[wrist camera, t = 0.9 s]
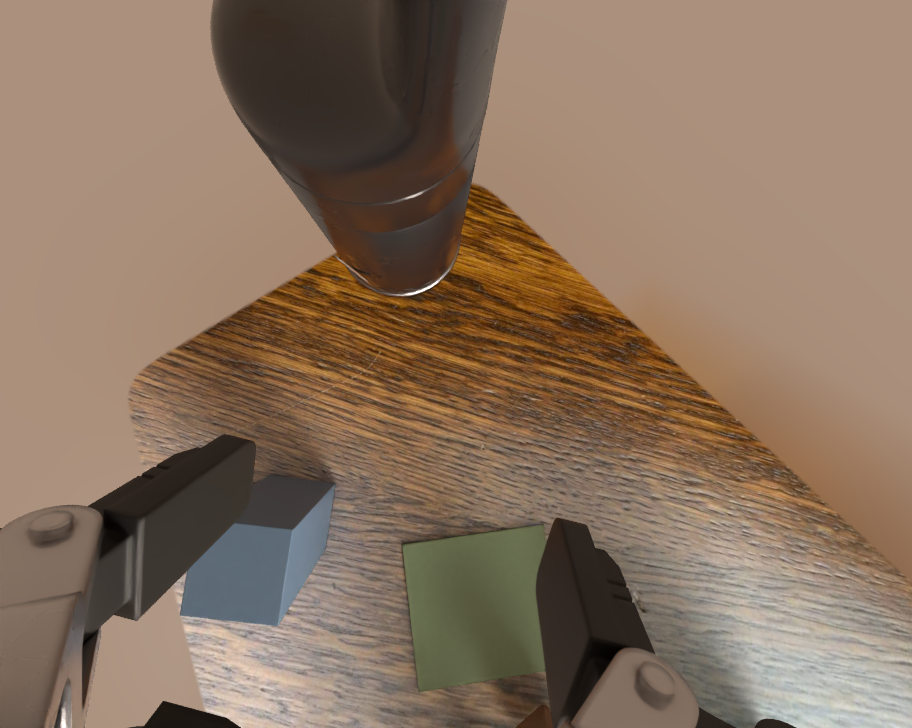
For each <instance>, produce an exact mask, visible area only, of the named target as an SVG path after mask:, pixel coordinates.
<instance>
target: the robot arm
mask: <svg viewBox="0 0 912 728" xmlns="http://www.w3.org/2000/svg"><path fill="white" fill-rule="evenodd" d="M506 4H507V0H213V5H212V12H211V22H210V24H211V25H210V27H211V44H212V51H213V56H214V61H215V65H216V69H217V73H218V75H219V78H220V81H221V84H222V86H223V89H224V91H225V93H226V95H227V97H228V99H229V101H230V103H231V105H232V107H233V108H234V110H235V112H236V114H237V115H238V117H239V118H240V120H241V122H242V123H243V125H244V126H245V127H246V128H247V130H248V132H249V133H250V134H251V136H252V137H253V138H254V140H255V141H256V143H257V144H258V145H259V147H260V148H261V149H262V151H263V152H264V153H265V154H266V156H267V157H268V158H269V160H270V161H271V162H272V164H273V165H274V166H275V168H276V169H277V170H278V172H279V173H280V174H281V176H282V177H283V179H284V180H285V181H286V183H287V184H288V185H289V187H290V188H291V189H292V191H293V192H294V193H295V195H296V196H297V197H298V199H299V200H300V202H301V203H302V204H303V205H304V207H305V208H306V210H307V211H308V213H309V214H310V215H311V217H312V218H313V219H314V221H315V222H316V223H317V225H318V226H319V228H320V229H321V230H322V232H323V233H324V235H325V236H326V237H327V239H328V240H329V241H330V243H331V244H332V245H333V247H334V248H335V250H336V251H337V253H338V254H339V255H340V257H341V258H342V260H343V261H342V260H341V259H339V258H338V257H337V256H336V255H334V254H333V255H334V256H335V257H336V258H337V259H338V260H339V261H341V262H342V263H343V264H345V265H346V267H347V269H348V270H349V271H350V273H351V274H352V275H353V276H354V277H355V278H356V280H358V281H359V282H360V283H361V284H362V285H364V286H365V287H366V288H368V289H370V290H372V291H374V292H376V293H379V294H382V295H385V296H390V297H410V296H415V295H419V294H421V293H424V292H426V291H428V290H430V289H432V288H433V287H435V286H436V285H437V284H439V283H440V282H441V281H442V280H443V279H444V278H445V277H446V276H447V274H448V273H449V272H450V270H451V269H452V267H453V265H454V263H455V261H456V258H457V255H458V251H459V246H460V236H461V231H462V226H463V221H464V217H465V212H466V207H467V202H468V197H469V192H470V187H471V182H472V177H473V172H474V167H475V162H476V157H477V152H478V146H479V140H480V136H481V131H482V125H483V121H484V117H485V114H486V109H487V104H488V97H489V92H490V86H491V80H492V74H493V68H494V63H495V57H496V52H497V47H498V42H499V37H500V33H501V28H502V23H503V19H504V14H505V9H506ZM255 456H256V444H255V442H254V441H251V440H247V439H243V438H239V437H235V436H231V435H227V434H224V435H221V436H220V437H218V438H216V439H215V440H213V441H212V442H210V443H208V444H207V445H205V446H204V447H202V448H198V447H197V448H194V449H190V450H187V451H184V452H181V453H177V454H174V455H173V456H171V457H169V458H168V459H166V460H164V461H163V462H161V463H159V464H158V465H157V466H156V467H153V468H151V469H149V470H148V471H146V472H144V473H143V474H142V476H137V477H136V478H134V479H132V480H131V481H129V482H128V483H126V484H124V485H122V486H121V487H119V488H117V489H116V490H114V491H113V492H111V493H109V494H108V495H106V496H104V497H102V498H101V499H99V500H97V501H96V502H94V503H92V504H91V505H89V506H87V507H86V506H80V505H63V506H54V507H49V508H44V509H40V510H37V511H34V512H31V513H28V514H25V515H23V516H21V517H19V518H17V519H15V520H13V521H12V522H10V523H8V524H7V525H6V526H4V527H3V528H0V728H85V723H86V717H87V712H88V706H89V700H90V694H91V689H92V683H93V678H94V672H95V666H96V661H97V655H98V650H99V644H100V638H101V626H102V625H103V624H104V623H105V622H106V621H107V620H108V619H109V618H110V617H111V616H113V615H116V616H120V617H124V618H128V619H131V620H135V621H137V620H138V619H139V618H140V617H141V616H142V615H143V614H144V613H145V612H146V611H147V610H148V609H149V608H150V607H151V606H152V605H153V604H154V603H155V602H156V601H157V600H158V599H159V598H160V597H161V596H162V595H163V594H164V593H165V592H166V591H167V590H168V589H169V588H170V587H171V586H172V585H173V584H174V583H175V582H176V581H177V580H178V579H179V578H180V577H181V576H182V575H183V574H184V573H185V572H186V571H187V570H188V569H189V568H190V567H191V566H192V565H193V564H194V563H195V562H196V561H197V560H198V559H199V558H200V557H201V556H202V555H203V554H204V553H205V552H206V551H207V550H208V549H209V548H210V547H211V546H212V545H213V544H214V543H215V542H216V541H217V540H218V539H219V538H220V537H221V536H222V535H223V534H224V533H225V532H226V531H227V530H228V529H229V528H230V527H231V526H232V525H233V524H234V523H235V522H236V521H237V520H238V519H239V518H240V517H241V516H242V514H243V513H244V511H245V510H246V508H247V505H248V503H249V500H250V497H251V491H252V482H253V474H254V465H255ZM536 600H537V608H538V616H539V623H540V631H541V639H542V647H543V655H544V662H545V670H546V678H547V686H548V694H549V701H550V709H551V717H552V725H553V728H736V727H734V726H732V725H730V724H728V723H726V722H724V721H723V720H721V719H719V718H717V717H715V716H713V715H712V714H710V713H708V712H706V711H705V710H703V709H701V708H700V707H699V706H698V703H697V700H696V697H695V695H694V693H693V691H692V689H691V688H690V686H689V685H688V683H687V682H686V681H685V679H684V678H683V677H682V676H681V675H680V674H679V673H678V672H677V671H676V670H675V669H674V668H673V667H672V666H671V665H670V664H668V663H667V662H666V661H664V660H663V659H661V658H660V657H658V656H656V654H655V652H654V650H653V647H652V645H651V642H650V640H649V638H648V635H647V633H646V630H645V628H644V625H643V623H642V621H641V618H640V616H639V613H638V611H637V609H636V606H635V604H634V603H632V597H631V594H630V592H629V589H628V588H626V582H625V580H624V577H623V575H622V572H621V570H620V568H619V566H618V565H617V564H616V563H615V562H614V560H613V559H612V558H611V557H610V556H609V555H608V553H607V552H606V551H605V550H602V549H598V548H595V546H594V543H593V540H592V537H591V534H590V532H589V529H588V527H587V525H585V524H581V523H577V522H573V521H569V520H565V519H561V518H556V519H555V520H554V522H553V525H552V528H551V531H550V534H549V537H548V540H547V543H546V546H545V549H544V552H543V556H542V559H541V562H540V565H539V568H538V572H537V578H536ZM130 728H241V727H239V726H238V725H236V724H235V723H233V722H232V721H230V720H229V719H227V718H225V717H221V716H217V715H214V714H210V713H206V712H203V711H199V710H195V709H192V708H188V707H184V706H181V705H177V704H173V703H169V702H166V701H163V702H162V703H161V705H160V706H159V707H158V708H157V710H156V711H155V713H154V714H153V715H152V716H151V718H150V719H149V720H148V722H147V723H146V724H145V726H136V727H130ZM755 728H796V727H794V726H792V725H790V724H788V723H785V722H782V721H779V720H775V719H763V720H761V721H759V722H758V723H757V724H756V726H755Z"/></svg>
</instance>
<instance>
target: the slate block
mask: <svg viewBox="0 0 912 728" xmlns="http://www.w3.org/2000/svg"><path fill="white" fill-rule="evenodd" d="M335 486H336V483H331V482H323V481H316V480H308V479H300V478H292V477H285V476H277V475H268V476H267V477H265V478H263V479H261V480H260V481H258V482H256V483H255V484H253V485H252V491H251V497H250V500H249V503H248V505H247V508H246V510H245V511H244V513H243V514H242V516H241V517H240V518H239V519H238V520H237V521H236V522H235V523H234V524H233V525H232V526H231V527H230V528H229V529H228V530H227V531H226V532H225V533H224V534H223V535H222V536H221V537H220V538H219V539H218V540H217V541H216V542H215V543H214V544H213V545H212V546H211V547H210V548H209V549H208V550H207V551H206V552H205V553H204V554H203V555H202V556H201V557H200V558H199V559H198V560H197V561H196V562H195V563H194V564H193V565H192V566H191V567H190V568H189V569H188V570H187V576H186V581H185V587H184V593H183V599H182V605H181V611H180V615H181V616H190V617H199V618H208V619H217V620H226V621H235V622H244V623H254V624H263V625H272V626H278V625H279V623H280V622H281V620H282V618H283V617H284V615H285V614H286V612H287V610H288V609H289V607H290V605H291V604H292V602H293V601H294V599H295V597H296V596H297V594H298V593H299V591H300V589H301V588H302V586H303V585H304V583H305V581H306V580H307V578H308V577H309V575H310V573H311V572H312V570H313V568H314V567H315V565H316V564H317V562H318V560H319V559H320V557H321V556H322V554H323V552H324V551H325V549H326V544H327V537H328V531H329V524H330V518H331V511H332V505H333V499H334V492H335Z"/></svg>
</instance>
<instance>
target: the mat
mask: <svg viewBox="0 0 912 728" xmlns="http://www.w3.org/2000/svg"><path fill="white" fill-rule="evenodd" d="M545 546H546V540H545V532H544V525H543V524H540V525H533V526H526V527H519V528H512V529H505V530H498V531H491V532H484V533H477V534H470V535H463V536H457V537H450V538H443V539H436V540H429V541H422V542H415V543H408V544H402V549H403V557H404V566H405V575H406V584H407V593H408V601H409V610H410V619H411V628H412V637H413V645H414V654H415V663H416V672H417V681H418V689H419V692H423V691H429V690H435V689H441V688H447V687H453V686H459V685H465V684H471V683H477V682H483V681H489V680H495V679H501V678H507V677H513V676H519V675H525V674H531V673H537V672H543V671H546V670H545V662H544V655H543V647H542V639H541V631H540V623H539V616H538V608H537V600H536V578H537V572H538V568H539V565H540V562H541V559H542V556H543V552H544V549H545Z"/></svg>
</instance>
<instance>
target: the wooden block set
mask: <svg viewBox="0 0 912 728" xmlns="http://www.w3.org/2000/svg"><path fill="white" fill-rule="evenodd" d="M516 728H553V725H552V717H551V712H550V710H549V709H548V707H547V706H546V705H544V704H543V705H541V706H540V707H538V708H537V709H536V710H535V711H534V712H533V713H531V714H530V715H529V716H528V717H527V718H526V719H525V720H523V721H522V722H521V723H520V724H519V725H518V726H517V727H516Z"/></svg>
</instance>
